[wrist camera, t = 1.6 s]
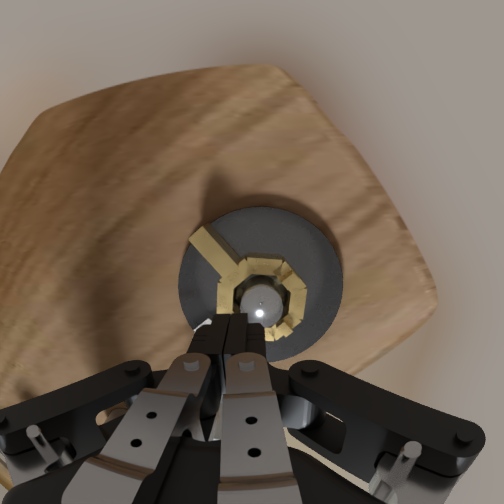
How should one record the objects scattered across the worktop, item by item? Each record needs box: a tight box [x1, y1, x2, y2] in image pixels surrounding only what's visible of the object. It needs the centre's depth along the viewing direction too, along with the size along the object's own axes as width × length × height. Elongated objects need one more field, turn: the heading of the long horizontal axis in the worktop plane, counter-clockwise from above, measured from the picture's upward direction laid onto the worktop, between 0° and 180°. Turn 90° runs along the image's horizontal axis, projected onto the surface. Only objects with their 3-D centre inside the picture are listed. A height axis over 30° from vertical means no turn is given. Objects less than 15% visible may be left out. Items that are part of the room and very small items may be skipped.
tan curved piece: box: [188, 222, 307, 341], centre depth 34 cm, size 16×11×4 cm, turn 41°
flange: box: [178, 207, 343, 362], centre depth 35 cm, size 22×22×7 cm
